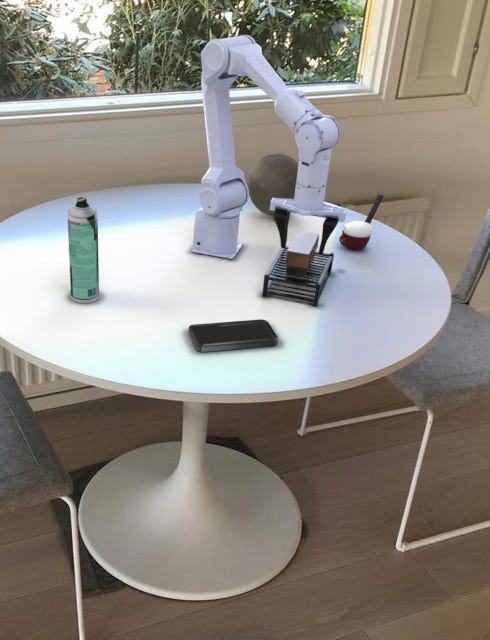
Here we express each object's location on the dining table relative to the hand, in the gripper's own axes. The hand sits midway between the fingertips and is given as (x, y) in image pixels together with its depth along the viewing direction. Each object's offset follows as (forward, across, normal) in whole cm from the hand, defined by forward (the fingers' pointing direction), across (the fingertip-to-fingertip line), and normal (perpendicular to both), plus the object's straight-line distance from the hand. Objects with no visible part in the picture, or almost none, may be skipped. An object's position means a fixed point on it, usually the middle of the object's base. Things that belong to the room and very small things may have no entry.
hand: (302, 248), depth 153 cm
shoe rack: (+8, 0, 0) cm, 8 cm away
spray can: (+8, -37, -22) cm, 44 cm away
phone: (+8, -6, -26) cm, 28 cm away
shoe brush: (+3, 0, 0) cm, 4 cm away
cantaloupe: (+8, -14, +35) cm, 38 cm away
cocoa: (+8, +9, +24) cm, 27 cm away
